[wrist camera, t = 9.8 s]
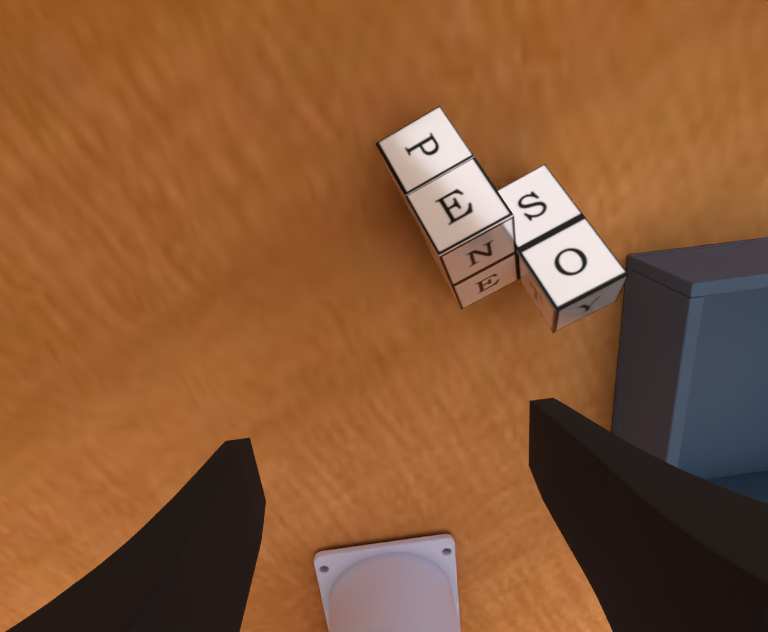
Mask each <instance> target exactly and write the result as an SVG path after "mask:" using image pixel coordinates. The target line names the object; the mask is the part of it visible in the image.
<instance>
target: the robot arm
mask: <svg viewBox="0 0 768 632" xmlns="http://www.w3.org/2000/svg"><path fill="white" fill-rule="evenodd" d="M529 467H530V469H531V472H532V474H533V477H534V479H535V482H536V484H537V487H538V489H539V492H540V494H541V496H542V499H543V501H544V503H545V505H546V506H547V508H548V510H549V512H550V514H551V515H552V517H553V519H554V521H555V523H556V524H557V526H558V528H559V530H560V531H561V533H562V535H563V537H564V538H565V540H566V542H567V544H568V545H569V547H570V549H571V551H572V552H573V554H574V556H575V558H576V560H577V561H578V563H579V565H580V567H581V568H582V570H583V572H584V574H585V575H586V577H587V579H588V581H589V582H590V584H591V586H592V588H593V590H594V592H595V594H596V596H597V598H598V600H599V602H600V604H601V606H602V609H603V611H604V613H605V615H606V618H607V620H608V622H609V624H610V626H611V629H612V631H613V632H768V504H767V503H764V502H761V501H759V500H756V499H753V498H750V497H748V496H745V495H742V494H740V493H737V492H734V491H731V490H729V489H726V488H724V487H721V486H719V485H716V484H714V483H711V482H709V481H706V480H704V479H702V478H700V477H697V476H695V475H693V474H691V473H688V472H686V471H684V470H682V469H679V468H677V467H675V466H673V465H671V464H669V463H667V462H665V461H663V460H661V459H659V458H657V457H655V456H653V455H651V454H649V453H647V452H645V451H643V450H641V449H640V448H638V447H636V446H634V445H632V444H630V443H629V442H627V441H625V440H623V439H622V438H620V437H618V436H616V435H615V434H613V433H611V432H609V431H608V430H606V429H604V428H603V427H601V426H599V425H598V424H596V423H594V422H593V421H591V420H590V419H588V418H586V417H585V416H583V415H581V414H580V413H578V412H577V411H575V410H573V409H572V408H570V407H568V406H567V405H565V404H563V403H562V402H560V401H558V400H556V399H554V398H548V399H540V400H533V401H530V421H529ZM265 504H266V500H265V496H264V492H263V488H262V484H261V480H260V476H259V472H258V468H257V464H256V460H255V456H254V452H253V449H252V445H251V441H250V438H245V439H237V440H229V441H225V442H224V443H223V444H222V445H221V446H220V447H219V448H218V450H217V451H216V452H215V453H214V454H213V455H212V456H211V457H210V458H209V459H208V461H207V462H206V463H205V464H204V465H203V466H202V467H201V468H200V469H199V471H198V472H197V473H196V474H195V475H194V476H193V477H192V478H191V479H190V480H189V481H188V482H187V483H186V485H185V486H184V487H183V488H182V489H181V490H180V491H179V492H178V493H177V494H176V495H175V496H174V497H173V498H172V499H171V500H170V501H169V502H168V503H167V504H166V505H165V506H164V507H163V508H162V509H161V510H160V511H159V512H158V513H157V514H156V515H155V516H154V517H153V518H152V519H151V520H150V521H149V522H148V523H147V524H146V525H145V526H144V527H143V528H142V529H141V530H140V531H138V532H137V533H136V534H135V535H134V536H133V537H132V538H131V539H130V540H128V541H127V542H126V543H125V544H124V545H123V546H122V547H120V548H119V549H118V550H117V551H116V552H114V553H113V554H112V555H111V556H110V557H108V558H107V559H106V560H105V561H104V562H102V563H101V564H100V565H99V566H97V567H96V568H95V569H94V570H92V571H91V572H90V573H88V574H87V575H86V576H84V577H83V578H82V579H80V580H79V581H78V582H76V583H75V584H73V585H72V586H71V587H69V588H68V589H67V590H65V591H64V592H63V593H61V594H60V595H59V596H57V597H56V598H55V599H53V600H52V601H51V602H49V603H48V604H46V605H45V606H43V607H42V608H40V609H39V610H38V611H36V612H35V613H33V614H32V615H30V616H29V617H27V618H26V619H24V620H23V621H21V622H20V623H18V624H17V625H15V626H13V627H12V628H10V629H9V630H7V631H6V632H240V628H241V623H242V619H243V615H244V611H245V607H246V603H247V599H248V595H249V591H250V586H251V582H252V578H253V574H254V570H255V566H256V562H257V557H258V553H259V549H260V544H261V540H262V532H263V524H264V514H265ZM446 548H447V549H446ZM444 549H446V550H444ZM314 566H315V571H316V575H317V580H318V585H319V589H320V594H321V598H322V603H323V607H324V612H325V617H326V621H327V626H328V632H461V629H460V616H459V601H458V585H457V570H456V554H455V542H454V539H453V536H451V535H450V534H440V535H433V536H426V537H418V538H411V539H404V540H397V541H390V542H383V543H376V544H369V545H361V546H354V547H347V548H340V549H333V550H326V551H320V552H318V553H316V554H315V556H314ZM322 566H326V567H322Z"/></svg>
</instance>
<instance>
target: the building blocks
mask: <svg viewBox="0 0 768 632" xmlns="http://www.w3.org/2000/svg"><path fill="white" fill-rule="evenodd" d="M376 146H377V148H378V150H379V153H380V155H381V157H382V159H383V161H384V163H385V165H386V167H387V169H388V172H389V174H390V176H391V178H392V180H393V182H394V184H395V186H396V188H397V190H398V191H399V193H400V195H401V197H402V199H403V200H404V202H405V204H406V206H407V207H408V209H409V211H410V213H411V215H412V216H413V218H414V220H415V222H416V224H417V225H418V227H419V229H420V231H421V232H422V235H423V237H424V239H425V241H426V243H427V246H428V248H429V250H430V252H431V254H432V257H433V259H434V261H435V263H436V264H437V266H438V268H439V270H440V272H441V273H442V275H443V277H444V279H445V281H446V282H447V284H448V286H449V288H450V290H451V291H452V293H453V295H454V297H455V298H456V300H457V302H458V304H459V306H460V307H461V309H463V308H465V307H467V306H469V305H471V304H473V303H475V302H477V301H479V300H480V299H482V298H484V297H486V296H488V295H490V294H492V293H494V292H496V291H497V290H499V289H501V288H503V287H505V286H507V285H509V284H511V283H513V282H515V281H516V280H518V279H519V281H520V282H521V284H522V285H523V287H524V288H525V290H526V292H527V293H528V295H529V296H530V298H531V299H532V301H533V303H534V304H535V306H536V307H537V309H538V310H539V312H540V314H541V315H542V317H543V318H544V320H545V321H546V323H547V325H548V326H549V328H550V329H551V331H552V332H553V333H554V332H556V331H558V330H560V329H562V328H564V327H566V326H568V325H570V324H572V323H574V322H576V321H578V320H579V319H581V318H583V317H585V316H587V315H589V314H591V313H593V312H595V311H597V310H599V309H601V308H603V307H605V306H607V305H609V304H611V303H613V302H615V301H616V300H617V297H618V295H619V293H620V291H621V289H622V287H623V285H624V283H625V281H626V279H627V276H628V273H627V272H626V270H625V269H624V268H623V267H622V265H621V264H620V263H619V261H618V260H617V259H616V257H615V256H614V255H613V253H612V252H611V251H610V249H609V248H608V247H607V245H606V244H605V243H604V241H603V240H602V239H601V238H600V236H599V235H598V234H597V232H596V231H595V230H594V228H593V227H592V226H591V224H590V223H589V222H588V220H587V219H586V218H585V216H584V215H583V214H582V212H581V211H580V210H579V209H578V207H577V206H576V205H575V203H574V202H573V201H572V199H571V198H570V197H569V195H568V194H567V193H566V191H565V190H564V189H563V187H562V186H561V185H560V183H559V182H558V181H557V179H556V178H555V177H554V176H553V174H552V173H551V172H550V170H549V169H548V168H547V166H546V165H545V164H544V165H542V166H540V167H539V168H537V169H535V170H533V171H531V172H530V173H528V174H526V175H524V176H522V177H521V178H519V179H517V180H515V181H513V182H512V183H510V184H508V185H506V186H504V187H503V188H501V189H499V190H497V189H496V188H495V186H494V185H493V183H492V182H491V180H490V179H489V177H488V176H487V175H486V173H485V172H484V170H483V169H482V167H481V166H480V164H479V163H478V161H477V160H476V158H475V157H474V155H473V154H472V152H471V151H470V149H469V148H468V147H467V145H466V144H465V142H464V141H463V139H462V138H461V136H460V135H459V133H458V132H457V130H456V129H455V127H454V126H453V124H452V123H451V121H450V120H449V119H448V117H447V116H446V114H445V113H444V111H443V110H442V108H441V107H440V106H438V107H437V108H435V109H433V110H432V111H430V112H428V113H427V114H425V115H423V116H421V117H420V118H418V119H416V120H415V121H413V122H411V123H410V124H408V125H406V126H404V127H403V128H401V129H399V130H398V131H396V132H394V133H393V134H391V135H389V136H387V137H386V138H384V139H382V140H381V141H379V142H377V143H376Z"/></svg>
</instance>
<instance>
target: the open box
mask: <svg viewBox="0 0 768 632" xmlns="http://www.w3.org/2000/svg"><path fill="white" fill-rule="evenodd" d="M626 272H627V273H628V276H627V279H626V281H625V290H624V301H623V312H622V323H621V334H620V345H619V356H618V367H617V378H616V389H615V400H614V411H613V422H612V433H613V434H615V435H616V436H618V437H620V438H622V439H623V440H625V441H627V442H629V443H630V444H632V445H634V446H636V447H638V448H640V449H641V450H643V451H645V452H647V453H649V454H651V455H653V456H655V457H657V458H659V459H661V460H663V461H665V462H667V463H669V464H671V465H673V466H675V467H677V468H679V469H682V470H684V471H686V472H688V473H691V474H693V475H695V476H697V477H700V478H702V479H704V480H706V481H709V482H711V483H714V484H716V485H719V486H721V487H724V488H726V489H729V490H731V491H734V492H737V493H740V494H742V495H745V496H748V497H750V498H753V499H756V500H759V501H761V502H764V503H767V504H768V238H760V239H752V240H744V241H735V242H727V243H719V244H711V245H703V246H695V247H687V248H679V249H670V250H662V251H654V252H646V253H638V254H630V255H628V257H627V268H626Z"/></svg>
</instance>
